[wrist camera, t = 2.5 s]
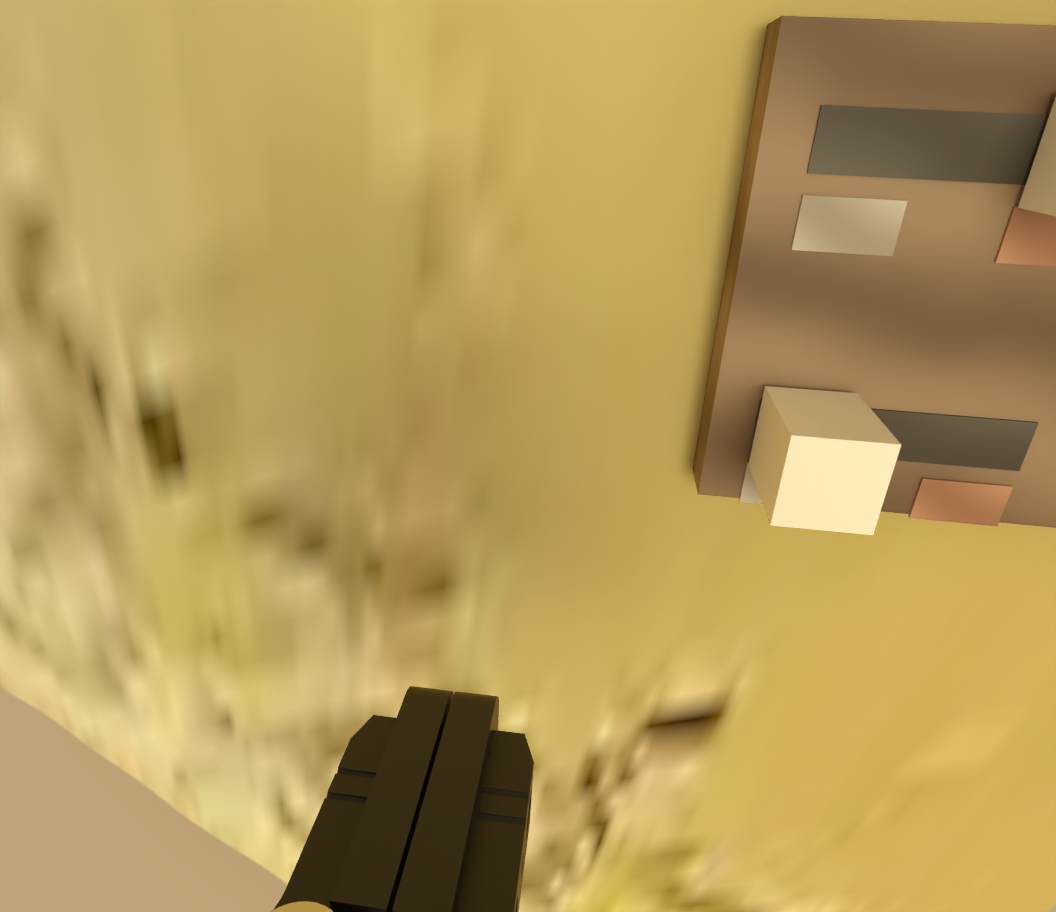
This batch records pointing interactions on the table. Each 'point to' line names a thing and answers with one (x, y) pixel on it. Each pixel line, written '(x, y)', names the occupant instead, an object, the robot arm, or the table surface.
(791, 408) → the tab
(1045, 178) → the tab
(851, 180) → the switch board
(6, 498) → the table surface
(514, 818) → the robot arm
